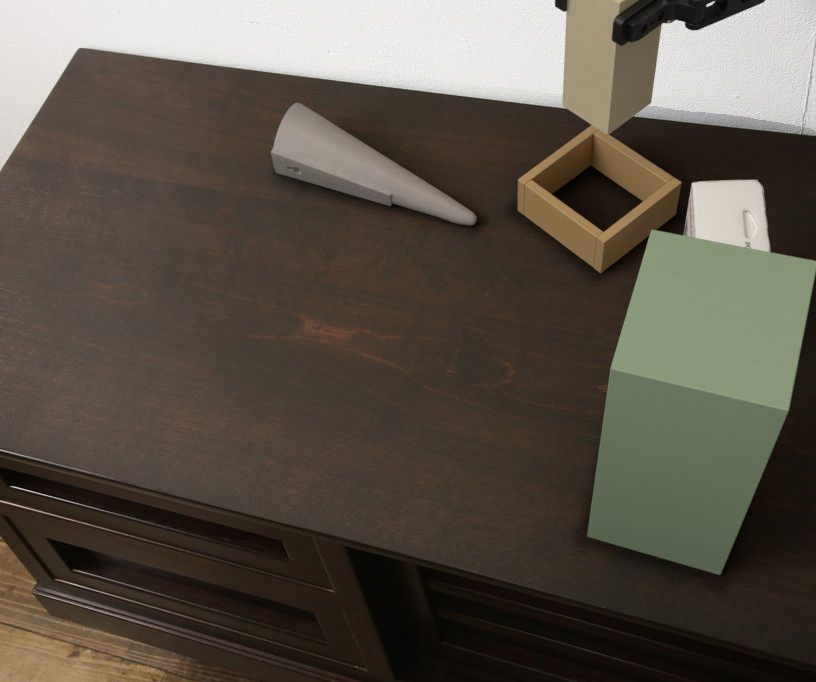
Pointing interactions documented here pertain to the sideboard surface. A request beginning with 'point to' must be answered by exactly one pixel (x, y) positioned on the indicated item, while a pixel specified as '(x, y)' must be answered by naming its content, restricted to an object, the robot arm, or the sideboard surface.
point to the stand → (697, 396)
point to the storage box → (618, 166)
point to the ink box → (728, 213)
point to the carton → (606, 65)
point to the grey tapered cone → (354, 167)
